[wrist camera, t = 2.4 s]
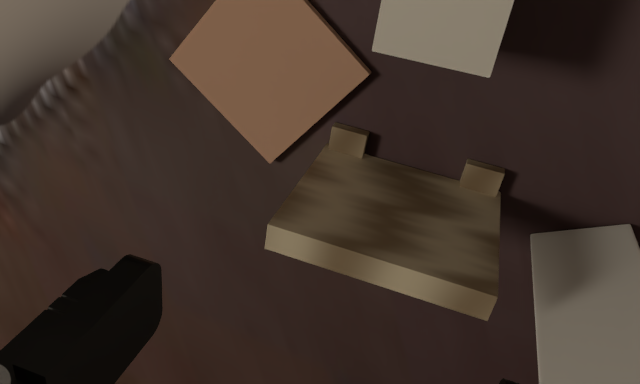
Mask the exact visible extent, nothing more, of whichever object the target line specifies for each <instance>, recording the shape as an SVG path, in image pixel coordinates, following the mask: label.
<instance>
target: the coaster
mask: <svg viewBox="0 0 640 384" xmlns="http://www.w3.org/2000/svg"><path fill="white" fill-rule="evenodd" d="M169 60H170V61H171V62H172V63H173V64H174V65H175V66H176V67H177V68H178V69H179V70H180V71H181V72H182V73H183V74H184V75H185V76H186V77H187V78H188V79H189V80H190V81H191V82H192V83H193V84H194V86H195V87H196V88H197V89H198V90H199V91H200V92H201V93H202V94H203V95H204V96H205V97H206V98H207V99H208V100H209V101H210V102H211V103H212V104H213V105H214V106H215V107H216V108H217V109H218V110H219V111H220V112H221V114H222V115H223V116H224V117H225V118H226V119H227V120H228V121H229V122H230V123H231V124H232V125H233V126H234V127H235V128H236V129H237V130H238V131H239V132H240V133H241V134H242V135H243V136H244V137H245V138H246V139H247V141H248V142H249V143H250V144H251V145H252V146H253V147H254V148H255V149H256V150H257V151H258V152H259V153H260V154H261V155H262V156H263V157H264V158H265V159H266V160H267V161H268V162H269V163H271V162H272V161H273V160H275V159H276V158H277V157H278V156H279V155H280V154H281V153H282V152H284V151H285V150H286V149H287V148H288V147H289V146H290V145H291V144H293V143H294V142H295V141H296V140H297V139H298V138H299V137H300V136H301V135H303V134H304V133H305V132H306V131H307V130H308V129H309V128H310V127H312V126H313V125H314V124H315V123H316V122H317V121H318V120H319V119H321V118H322V117H323V116H324V115H325V114H326V113H327V112H328V111H329V110H331V109H332V108H333V107H334V106H335V105H336V104H337V103H338V102H340V101H341V100H342V99H343V98H344V97H345V96H346V95H347V94H349V93H350V92H351V91H352V90H353V89H354V88H355V87H356V86H357V85H359V84H360V83H361V82H362V81H363V80H364V79H365V78H366V77H368V76H369V75H370V74H371V71H370V70H369V68H368V67H367V66H366V65H365V64H364V63H363V62H362V61H361V59H360V58H359V57H358V56H357V55H356V54H355V53H354V52H353V50H352V49H351V48H350V47H349V46H348V45H347V44H346V43H345V42H344V40H343V39H342V38H341V37H340V36H339V35H338V34H337V33H336V31H335V30H334V29H333V28H332V27H331V26H330V25H329V24H328V22H327V21H326V20H325V19H324V18H323V17H322V16H321V15H320V13H319V12H318V11H317V10H316V9H315V8H314V7H313V6H312V5H311V3H310V2H309V1H308V0H216V1H215V2H214V3H213V5H212V6H211V7H210V8H209V10H208V11H207V12H206V13H205V15H204V16H203V17H202V18H201V20H200V21H199V22H198V23H197V25H196V26H195V27H194V28H193V30H192V31H191V32H190V33H189V35H188V36H187V37H186V39H185V40H184V41H183V42H182V44H181V45H180V46H179V47H178V49H177V50H176V51H175V52H174V54H173V55H172V56H171V57H170V59H169Z"/></svg>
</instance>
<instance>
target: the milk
mask: <svg viewBox="0 0 640 384" xmlns="http://www.w3.org/2000/svg"><path fill="white" fill-rule="evenodd" d="M530 242H531V259H532V275H533V291H534V308H535V324H536V340H537V356H538V373H539V384H640V248H639V245H638V242H637V240H636V237H635V234H634V232H633V229H632V226H631V225H630V224H623V225H614V226H604V227H594V228H584V229H574V230H564V231H554V232H544V233H534V234H531V235H530Z"/></svg>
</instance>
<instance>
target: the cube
mask: <svg viewBox="0 0 640 384" xmlns="http://www.w3.org/2000/svg"><path fill="white" fill-rule="evenodd" d="M513 3H514V0H382V1H381V6H380V11H379V16H378V21H377V27H376V32H375V37H374V42H373V47H372V51H374V52H378V53H383V54H387V55H391V56H396V57H400V58H404V59H409V60H413V61H418V62H422V63H426V64H431V65H435V66H439V67H444V68H448V69H453V70H457V71H461V72H466V73H470V74H474V75H479V76H483V77H488V78H490V76H491V72H492V69H493V66H494V63H495V60H496V57H497V53H498V50H499V47H500V44H501V41H502V38H503V34H504V31H505V28H506V25H507V22H508V19H509V15H510V12H511V9H512V6H513Z"/></svg>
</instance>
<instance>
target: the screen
mask: <svg viewBox="0 0 640 384" xmlns="http://www.w3.org/2000/svg"><path fill="white" fill-rule="evenodd" d="M369 132H370V131H366V130H362V129H359V128H355V127H351V126H348V125H344V124H340V123H337V122H335V124H334V125H333V126H332V131H331V136H330V141H329V144H328V143H327V144H326V146H325V147H324V148H323V150H322V151H321V153H320V154H319V155H318V157H317V158H316V159H315V161H314V162H313V163H312V165H311V166H310V167H309V169H308V170H307V172H306V173H305V174H304V176H303V177H302V178H301V180H300V181H299V182H298V184H297V185H296V187H295V188H294V189H293V191H292V192H291V193H290V195H289V196H288V197H287V199H286V200H285V202H284V203H283V204H282V206H281V207H280V208H279V210H278V211H277V212H276V214H275V215H274V216H273V218H272V219H271V221H270V222H269V223H268V226H267V234H266V241H265V249H268V250H271V251H274V252H277V253H280V254H283V255H286V256H289V257H292V258H295V259H299V260H302V261H305V262H308V263H311V264H314V265H317V266H320V267H323V268H326V269H329V270H332V271H335V272H338V273H342V274H345V275H348V276H351V277H354V278H357V279H360V280H363V281H366V282H369V283H372V284H375V285H378V286H381V287H384V288H388V289H391V290H394V291H397V292H400V293H403V294H406V295H409V296H412V297H415V298H418V299H421V300H424V301H427V302H431V303H434V304H437V305H440V306H443V307H446V308H449V309H452V310H455V311H458V312H461V313H464V314H467V315H470V316H473V317H477V318H480V319H483V320H486V321H488V318H489V316H490V314H491V311H492V309H493V307H494V305H495V302H496V300H497V298H498V273H499V238H500V203H501V192H498V190H499V188H500V185H501V183H502V180H503V177H504V175H505V169H504V168H500V167H497V166H493V165H490V164H486V163H482V162H479V161H475V160H471V159H467V162H466V165H465V168H464V171H463V174H462V176H461V179H460V181H459V180H455V179H451V178H448V177H444V176H441V175H437V174H434V173H430V172H427V171H423V170H420V169H416V168H413V167H409V166H406V165H402V164H398V163H395V162H391V161H388V160H384V159H381V158H377V157H374V156H370V155H367V154H365V150H366V145H367V141H368V137H369Z"/></svg>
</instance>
